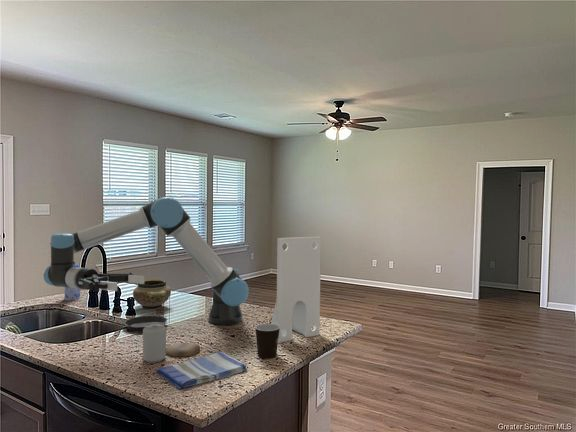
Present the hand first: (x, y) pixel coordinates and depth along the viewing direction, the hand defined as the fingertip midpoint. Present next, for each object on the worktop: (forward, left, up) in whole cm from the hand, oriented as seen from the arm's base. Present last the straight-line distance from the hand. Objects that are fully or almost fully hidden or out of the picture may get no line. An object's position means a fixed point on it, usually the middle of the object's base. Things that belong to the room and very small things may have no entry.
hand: (130, 283), depth 145 cm
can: (-8, +6, -25) cm, 27 cm away
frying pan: (-4, -27, -25) cm, 37 cm away
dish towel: (-23, +19, -26) cm, 40 cm away
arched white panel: (-60, -11, -25) cm, 66 cm away
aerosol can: (+38, -94, -25) cm, 105 cm away
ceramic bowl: (-4, -66, -25) cm, 71 cm away
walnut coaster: (-17, 0, -25) cm, 31 cm away
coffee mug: (-47, +10, -25) cm, 54 cm away
